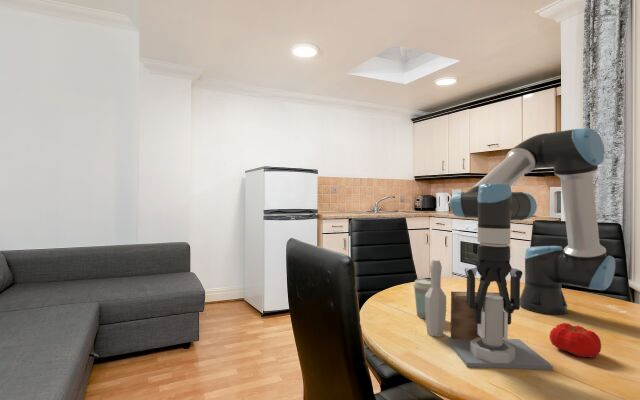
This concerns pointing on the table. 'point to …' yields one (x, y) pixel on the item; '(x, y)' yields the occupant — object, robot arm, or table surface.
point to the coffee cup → (421, 295)
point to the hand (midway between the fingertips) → (492, 336)
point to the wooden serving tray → (463, 317)
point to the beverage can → (493, 320)
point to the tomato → (575, 340)
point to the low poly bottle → (435, 302)
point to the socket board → (498, 354)
